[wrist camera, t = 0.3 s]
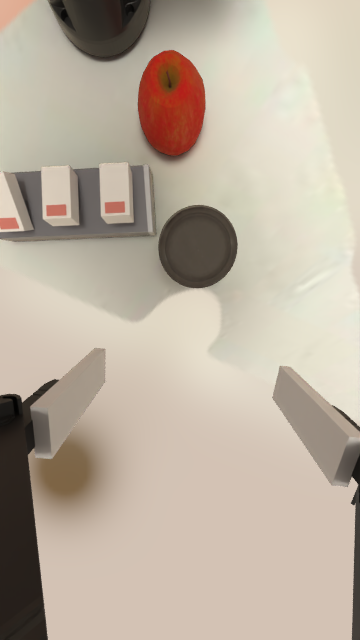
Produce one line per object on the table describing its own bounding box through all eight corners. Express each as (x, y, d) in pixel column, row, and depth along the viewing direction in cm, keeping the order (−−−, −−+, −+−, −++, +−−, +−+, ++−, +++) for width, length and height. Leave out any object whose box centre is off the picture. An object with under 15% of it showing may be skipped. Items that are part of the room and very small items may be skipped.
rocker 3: (105, 174, 33) (98, 162, 31) (132, 173, 33) (127, 161, 31) (107, 223, 33) (100, 215, 31) (133, 222, 33) (129, 214, 31)
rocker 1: (-13, 175, 32) (-28, 172, 30) (14, 173, 32) (1, 171, 30) (9, 230, 36) (-3, 232, 34) (34, 229, 36) (24, 231, 33)
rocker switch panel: (1, 183, 38) (-25, 171, 33) (152, 175, 37) (148, 161, 32) (14, 242, 40) (-8, 238, 36) (156, 235, 40) (152, 231, 35)
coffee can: (230, 250, 40) (254, 241, 26) (196, 292, 42) (202, 303, 28) (189, 215, 39) (192, 185, 25) (156, 259, 41) (142, 255, 27)
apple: (200, 88, 34) (207, 10, 24) (204, 159, 36) (212, 117, 26) (139, 96, 34) (120, 24, 24) (147, 167, 37) (134, 128, 27)
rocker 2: (51, 177, 34) (40, 166, 31) (77, 176, 34) (68, 164, 31) (52, 226, 34) (42, 218, 31) (79, 225, 34) (70, 217, 31)
